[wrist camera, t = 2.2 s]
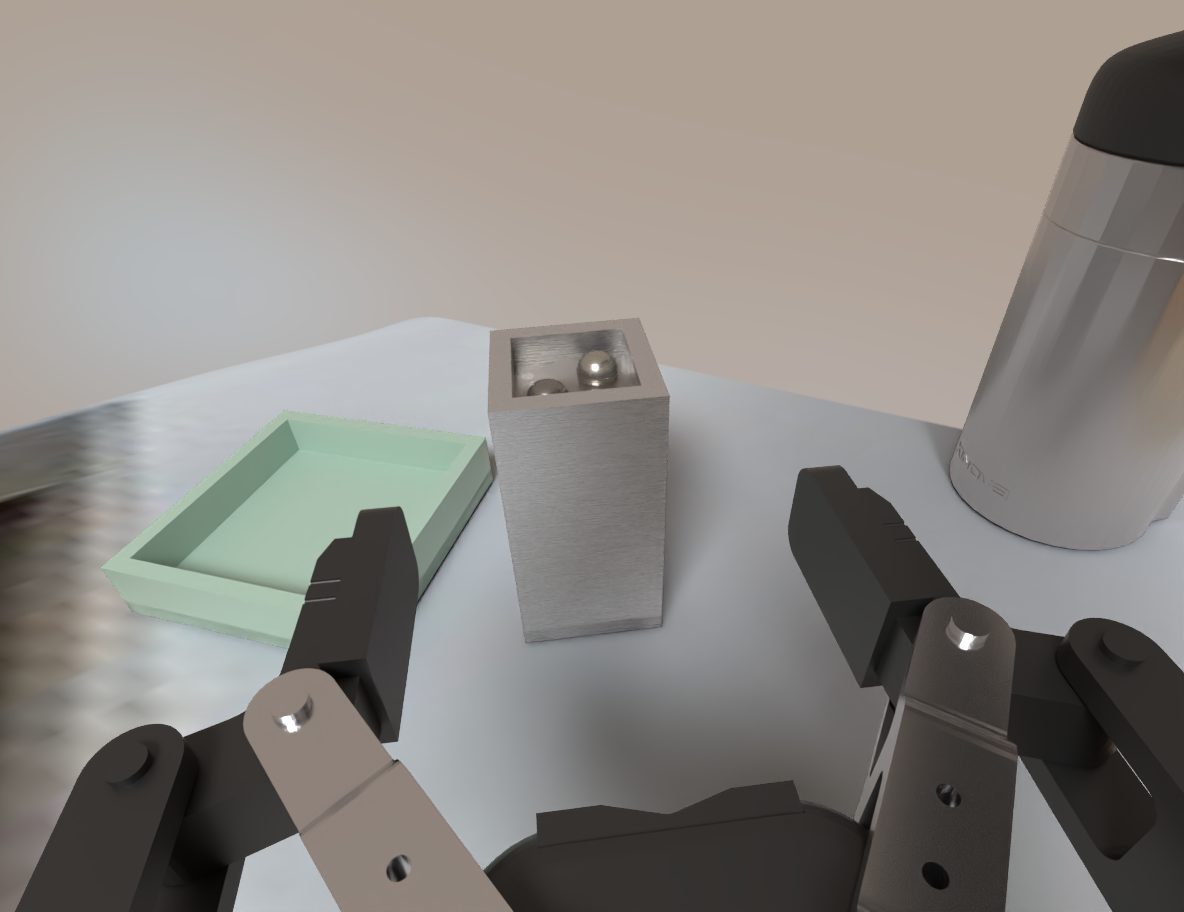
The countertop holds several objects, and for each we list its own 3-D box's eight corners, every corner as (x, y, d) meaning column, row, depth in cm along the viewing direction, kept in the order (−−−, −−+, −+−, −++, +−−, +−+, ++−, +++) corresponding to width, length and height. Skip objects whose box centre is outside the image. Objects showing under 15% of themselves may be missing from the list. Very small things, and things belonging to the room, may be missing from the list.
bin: (492, 479, 38) (485, 437, 36) (375, 669, 28) (356, 624, 26) (299, 450, 41) (284, 410, 39) (132, 611, 31) (100, 567, 29)
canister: (638, 533, 34) (639, 317, 26) (661, 626, 29) (669, 395, 22) (522, 545, 33) (490, 330, 26) (525, 642, 28) (487, 413, 21)
